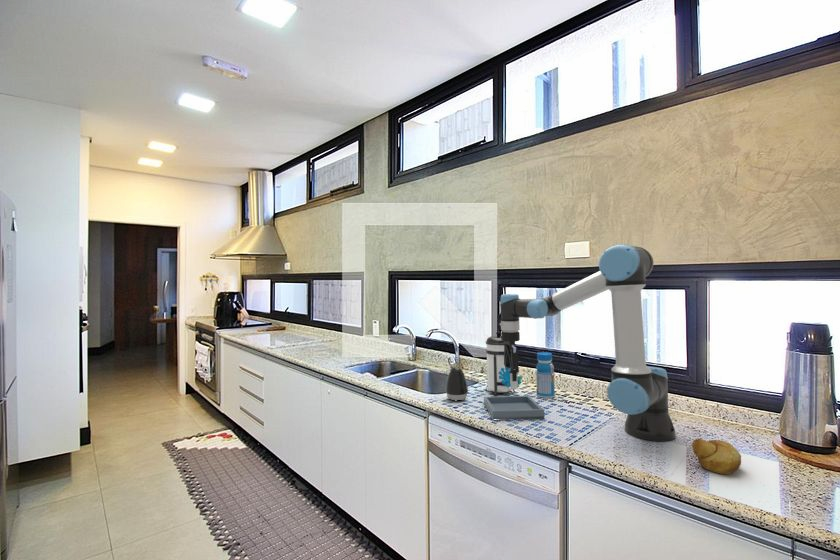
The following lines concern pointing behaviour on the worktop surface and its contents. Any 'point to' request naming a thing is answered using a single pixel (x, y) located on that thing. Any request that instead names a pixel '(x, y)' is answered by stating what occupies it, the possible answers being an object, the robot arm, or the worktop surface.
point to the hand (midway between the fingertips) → (511, 385)
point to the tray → (513, 407)
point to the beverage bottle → (545, 375)
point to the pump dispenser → (456, 384)
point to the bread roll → (717, 455)
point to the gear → (508, 377)
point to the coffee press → (495, 364)
